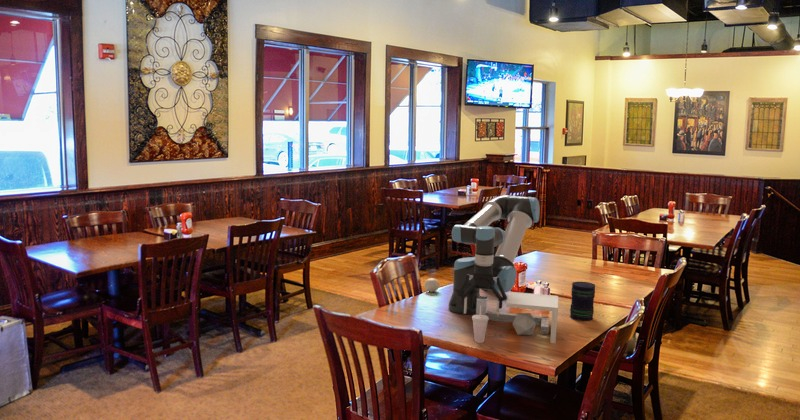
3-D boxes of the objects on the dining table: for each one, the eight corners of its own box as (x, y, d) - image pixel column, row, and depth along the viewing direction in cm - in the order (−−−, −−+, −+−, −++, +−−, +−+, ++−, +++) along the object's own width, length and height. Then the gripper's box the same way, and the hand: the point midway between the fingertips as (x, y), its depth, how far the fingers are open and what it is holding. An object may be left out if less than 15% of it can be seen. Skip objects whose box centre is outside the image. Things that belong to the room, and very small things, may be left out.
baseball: (441, 292, 333) (442, 278, 332) (431, 294, 328) (432, 280, 327) (431, 289, 338) (432, 275, 337) (421, 291, 333) (421, 278, 332)
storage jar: (566, 314, 302) (568, 281, 299) (588, 314, 302) (590, 281, 300) (573, 321, 292) (576, 287, 290) (596, 321, 292) (598, 287, 290)
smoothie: (486, 338, 266) (487, 303, 264) (488, 344, 259) (490, 308, 257) (469, 338, 265) (471, 303, 263) (472, 343, 259) (473, 308, 257)
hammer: (474, 326, 280) (475, 300, 279) (478, 317, 294) (479, 292, 292) (548, 334, 273) (549, 307, 272) (548, 323, 287) (550, 298, 285)
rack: (504, 337, 267) (506, 303, 265) (508, 324, 284) (509, 291, 282) (555, 343, 263) (557, 307, 261) (556, 329, 280) (558, 295, 278)
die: (529, 340, 267) (542, 318, 269) (510, 327, 268) (523, 306, 270) (525, 341, 275) (537, 320, 277) (506, 329, 276) (518, 308, 278)
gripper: (452, 263, 281) (450, 313, 284) (513, 268, 275) (510, 319, 278) (455, 260, 288) (453, 309, 291) (515, 264, 282) (512, 314, 285)
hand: (481, 314), depth 284 cm, fingers open, 13 cm apart
